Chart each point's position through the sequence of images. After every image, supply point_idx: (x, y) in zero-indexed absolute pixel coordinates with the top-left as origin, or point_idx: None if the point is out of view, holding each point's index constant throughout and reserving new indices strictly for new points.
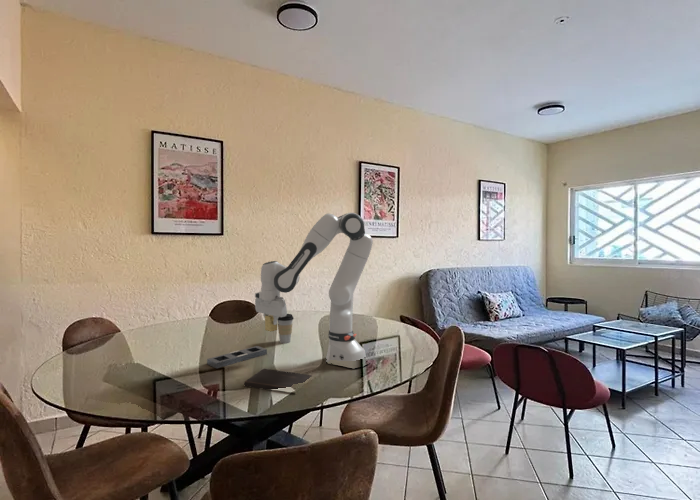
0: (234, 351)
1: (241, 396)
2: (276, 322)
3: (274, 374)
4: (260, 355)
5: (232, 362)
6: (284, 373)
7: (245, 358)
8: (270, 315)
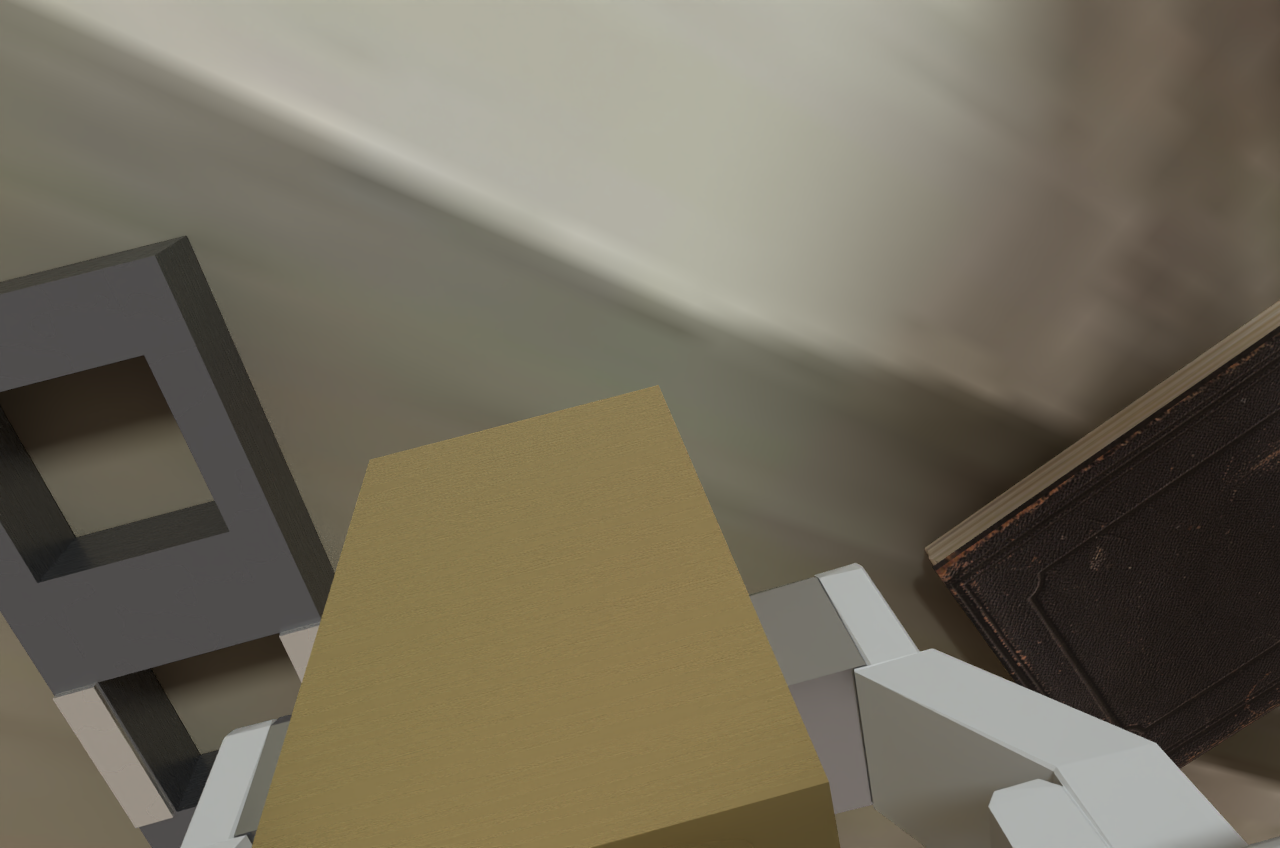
0: (90, 755)
1: (1241, 836)
2: (892, 628)
3: (1184, 529)
4: (243, 369)
5: None
6: (1249, 420)
7: None
8: None
